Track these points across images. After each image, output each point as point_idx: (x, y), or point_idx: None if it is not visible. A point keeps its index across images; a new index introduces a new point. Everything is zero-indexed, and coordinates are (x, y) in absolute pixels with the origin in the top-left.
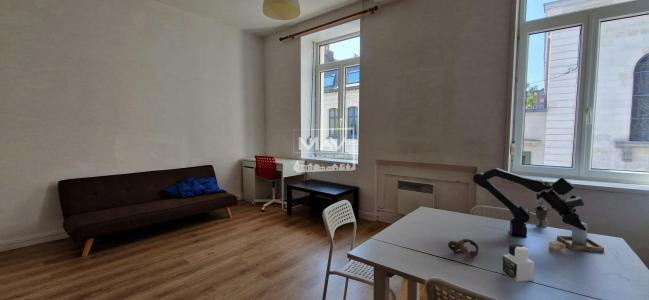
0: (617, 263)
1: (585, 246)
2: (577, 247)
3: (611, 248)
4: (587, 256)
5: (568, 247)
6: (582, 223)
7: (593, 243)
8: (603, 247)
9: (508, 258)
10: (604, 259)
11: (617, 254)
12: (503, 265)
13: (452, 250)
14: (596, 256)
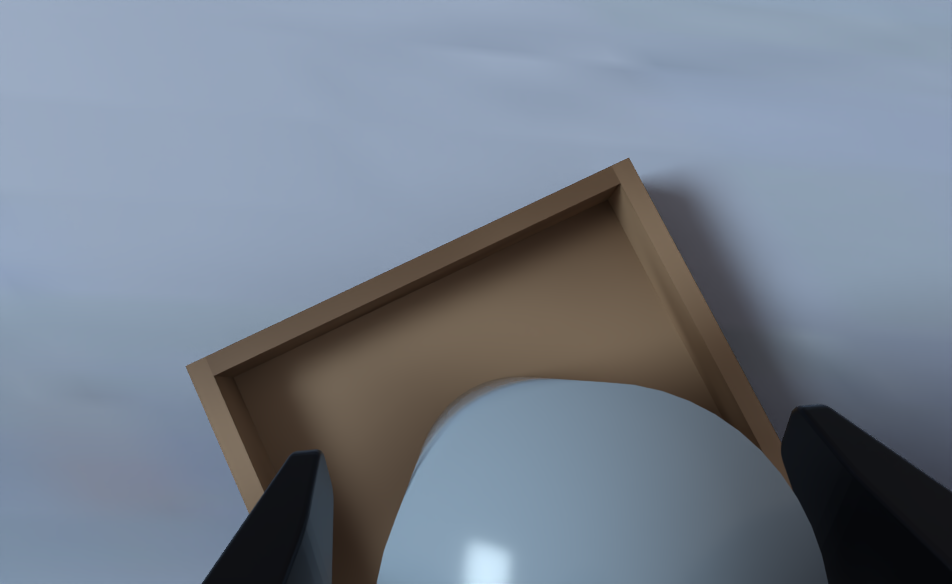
0: (945, 79)
1: (756, 403)
2: None
3: (342, 80)
4: (946, 384)
5: None
6: (572, 518)
7: (417, 282)
8: (614, 165)
9: None
10: (906, 199)
11: (571, 41)
12: None
13: None
14: (856, 279)
